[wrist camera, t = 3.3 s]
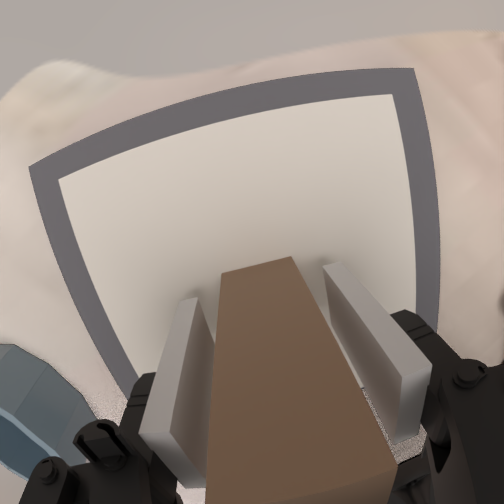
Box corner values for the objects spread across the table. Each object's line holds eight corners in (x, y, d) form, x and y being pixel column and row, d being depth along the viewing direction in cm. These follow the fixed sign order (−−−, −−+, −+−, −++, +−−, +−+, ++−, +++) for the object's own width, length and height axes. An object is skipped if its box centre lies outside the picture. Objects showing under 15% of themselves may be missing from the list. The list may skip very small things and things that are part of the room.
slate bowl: (103, 390, 17) (77, 449, 12) (97, 464, 20) (83, 508, 15) (-25, 318, 15) (-65, 355, 10) (-5, 410, 18) (-28, 444, 13)
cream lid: (380, 97, 12) (597, 55, 1) (403, 357, 17) (494, 492, 6) (70, 177, 12) (-138, 245, 2) (172, 414, 17) (148, 573, 6)
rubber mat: (405, 71, 12) (413, 68, 11) (427, 355, 18) (433, 361, 17) (36, 165, 13) (28, 166, 12) (150, 422, 18) (148, 430, 17)
